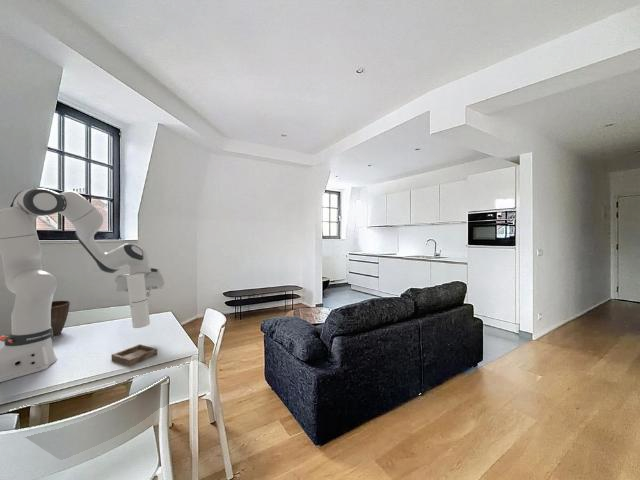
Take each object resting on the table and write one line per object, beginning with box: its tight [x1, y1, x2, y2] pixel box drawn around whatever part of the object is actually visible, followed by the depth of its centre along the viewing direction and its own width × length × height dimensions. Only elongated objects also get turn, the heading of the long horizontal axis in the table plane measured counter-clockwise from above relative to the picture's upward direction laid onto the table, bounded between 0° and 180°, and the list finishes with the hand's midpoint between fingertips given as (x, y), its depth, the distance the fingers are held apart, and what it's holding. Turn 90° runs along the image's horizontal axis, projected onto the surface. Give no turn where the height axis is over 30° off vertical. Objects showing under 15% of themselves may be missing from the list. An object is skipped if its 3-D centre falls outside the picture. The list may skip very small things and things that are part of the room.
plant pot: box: [51, 300, 71, 337], centre depth 145 cm, size 15×15×16 cm
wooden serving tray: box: [111, 343, 158, 367], centre depth 120 cm, size 12×12×2 cm
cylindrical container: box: [126, 274, 151, 329], centre depth 135 cm, size 7×7×25 cm
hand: (142, 296), depth 135 cm, fingers closed on cylindrical container, 4 cm apart
